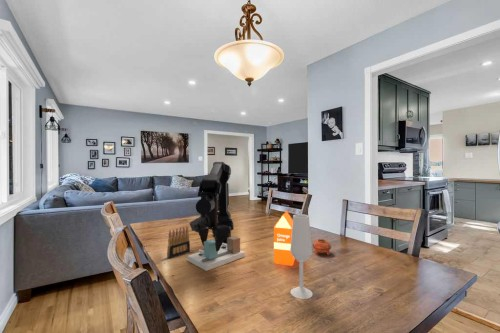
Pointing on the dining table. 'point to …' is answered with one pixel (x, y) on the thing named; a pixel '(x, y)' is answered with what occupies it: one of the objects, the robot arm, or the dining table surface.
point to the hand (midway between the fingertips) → (210, 248)
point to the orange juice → (283, 240)
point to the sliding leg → (209, 249)
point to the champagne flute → (301, 250)
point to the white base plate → (219, 255)
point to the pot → (322, 246)
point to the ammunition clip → (178, 243)
